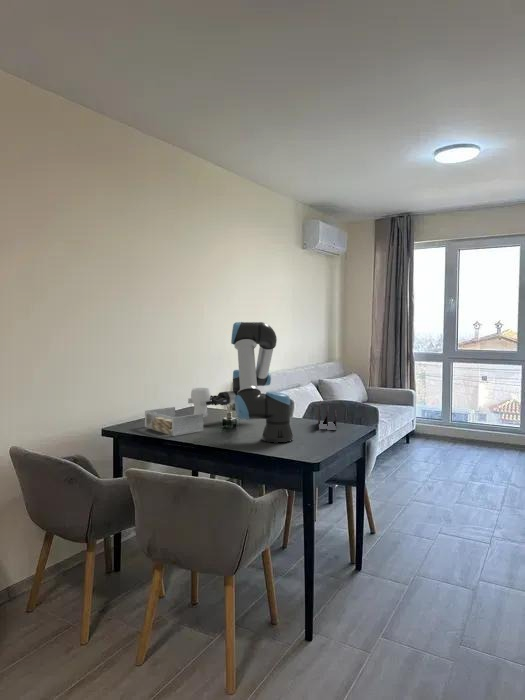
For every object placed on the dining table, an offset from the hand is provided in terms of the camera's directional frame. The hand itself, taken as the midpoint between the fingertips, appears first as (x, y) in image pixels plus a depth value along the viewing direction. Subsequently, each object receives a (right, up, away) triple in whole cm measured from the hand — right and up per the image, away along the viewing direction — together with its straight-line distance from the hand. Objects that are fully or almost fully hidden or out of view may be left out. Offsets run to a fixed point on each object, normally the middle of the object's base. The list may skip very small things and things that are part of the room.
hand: (194, 402), depth 272 cm
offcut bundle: (-14, -13, -13) cm, 23 cm away
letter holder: (+73, -15, +7) cm, 75 cm away
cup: (+3, -8, +3) cm, 9 cm away
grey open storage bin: (-10, -14, -9) cm, 19 cm away
